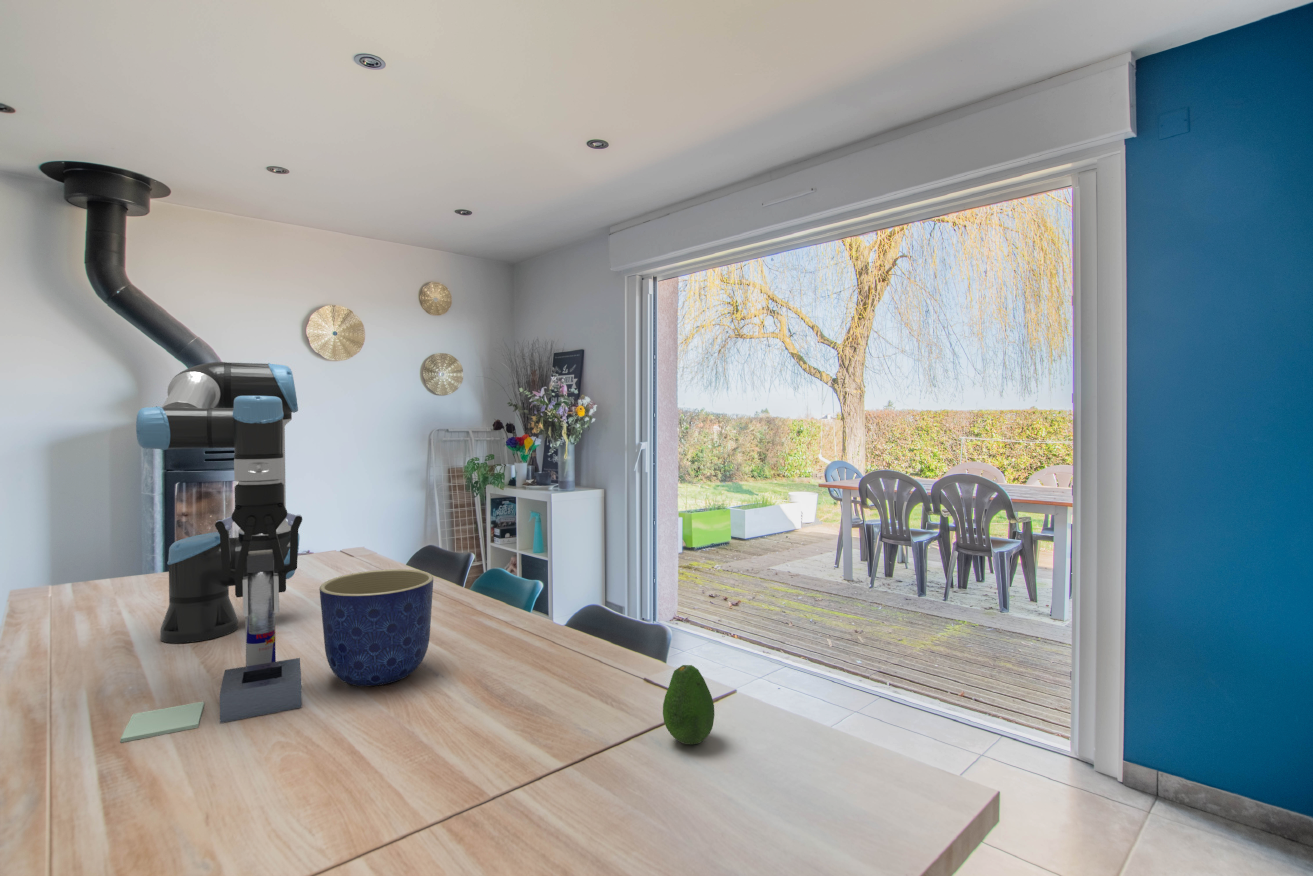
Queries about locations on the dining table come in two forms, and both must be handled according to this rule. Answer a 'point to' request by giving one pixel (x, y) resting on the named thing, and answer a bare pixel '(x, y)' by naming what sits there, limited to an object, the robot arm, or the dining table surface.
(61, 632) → the dining table surface
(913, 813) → the dining table surface
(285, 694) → the block
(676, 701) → the fruit
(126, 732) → the pad
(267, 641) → the beverage can
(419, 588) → the planter
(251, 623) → the grey piece
